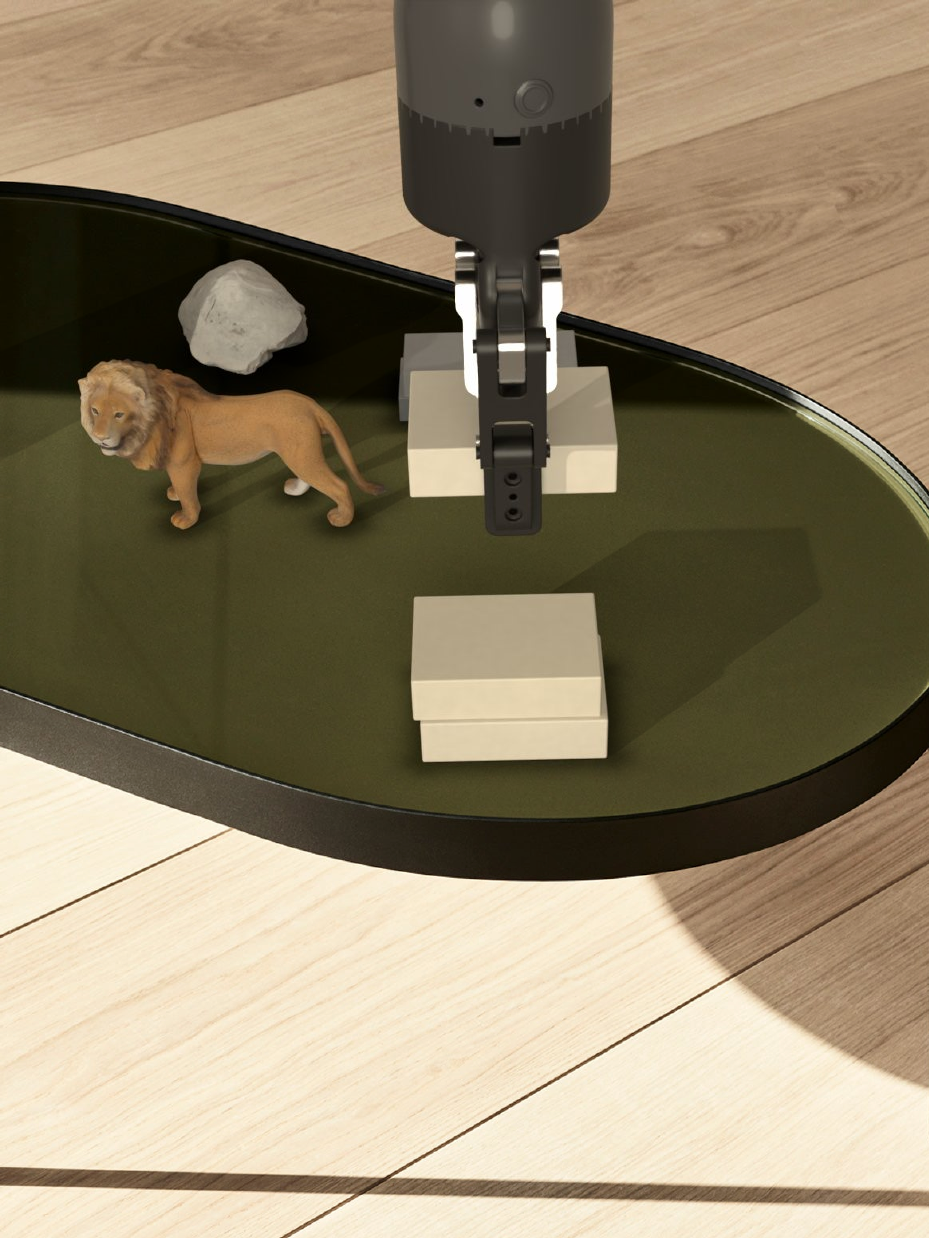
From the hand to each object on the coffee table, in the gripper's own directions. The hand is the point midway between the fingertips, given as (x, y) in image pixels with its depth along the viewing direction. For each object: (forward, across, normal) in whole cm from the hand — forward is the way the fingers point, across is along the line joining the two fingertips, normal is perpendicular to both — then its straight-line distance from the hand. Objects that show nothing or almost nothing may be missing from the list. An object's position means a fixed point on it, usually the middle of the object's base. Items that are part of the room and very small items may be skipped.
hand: (511, 483), depth 74 cm
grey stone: (+12, -33, -15) cm, 39 cm away
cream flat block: (-1, 0, 0) cm, 1 cm away
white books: (+12, 0, 0) cm, 12 cm away
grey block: (+12, -27, -1) cm, 30 cm away
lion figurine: (+12, -16, -14) cm, 25 cm away
